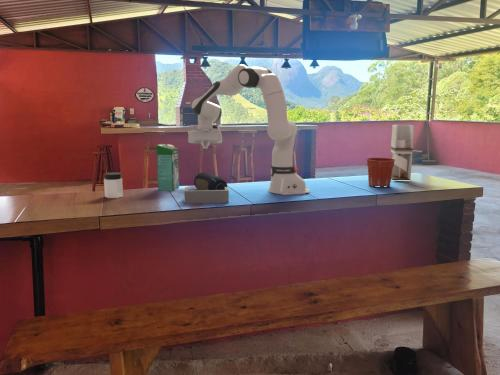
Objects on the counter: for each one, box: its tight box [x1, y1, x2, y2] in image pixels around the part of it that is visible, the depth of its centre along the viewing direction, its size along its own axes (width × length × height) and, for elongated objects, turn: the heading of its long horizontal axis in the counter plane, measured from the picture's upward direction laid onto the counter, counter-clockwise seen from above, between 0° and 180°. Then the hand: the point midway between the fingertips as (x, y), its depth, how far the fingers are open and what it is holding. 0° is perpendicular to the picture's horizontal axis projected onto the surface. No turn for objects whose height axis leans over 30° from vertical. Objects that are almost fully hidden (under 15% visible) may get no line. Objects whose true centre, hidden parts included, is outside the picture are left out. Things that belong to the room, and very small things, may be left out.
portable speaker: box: [193, 172, 229, 190], centre depth 228 cm, size 25×10×10 cm, turn 33°
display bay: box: [183, 186, 230, 204], centre depth 209 cm, size 21×10×6 cm, turn 96°
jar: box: [103, 171, 124, 199], centre depth 217 cm, size 9×8×12 cm
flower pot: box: [365, 157, 395, 187], centre depth 252 cm, size 16×16×16 cm
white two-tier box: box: [390, 124, 415, 181], centre depth 270 cm, size 11×11×35 cm
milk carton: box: [156, 143, 180, 192], centre depth 237 cm, size 9×9×25 cm
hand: (205, 147), depth 251 cm, fingers closed
